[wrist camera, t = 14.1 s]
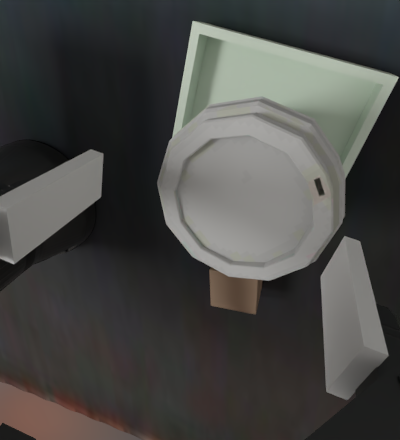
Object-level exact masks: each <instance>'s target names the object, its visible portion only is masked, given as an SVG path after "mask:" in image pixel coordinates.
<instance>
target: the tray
mask: <svg viewBox="0 0 400 440" xmlns="http://www.w3.org/2000/svg"><path fill="white" fill-rule="evenodd" d="M398 78H399V77H398V76H396V75H393V74H391V73H388V72H385V71H381V70H377V69H374V68H370V67H366V66H363V65H359V64H355V63H351V62H348V61H344V60H340V59H337V58H333V57H329V56H326V55H322V54H318V53H315V52H311V51H307V50H304V49H300V48H296V47H293V46H289V45H285V44H282V43H278V42H274V41H271V40H267V39H263V38H260V37H256V36H252V35H248V34H245V33H241V32H237V31H234V30H230V29H226V28H223V27H219V26H215V25H212V24H208V23H204V22H197V21H193V22H192V28H191V34H190V39H189V45H188V51H187V56H186V62H185V68H184V74H183V79H182V85H181V91H180V96H179V102H178V108H177V114H176V119H175V125H174V131H173V136H174V135H175V134H176V133H178V132H179V131H180V130H181V129H182V128H183V127H184V126H186V125H187V124H188V123H189V122H190V121H191V120H192V119H193V118H195V117H196V116H197V115H198V114H199V113H200V112H201V111H203V110H204V109H205V108H206V107H207V106H208V105H209V104H216V103H222V102H228V101H235V100H241V99H248V98H254V97H261V96H263V97H265V98H267V99H270V100H272V101H274V102H277V103H279V104H281V105H284V106H286V107H288V108H290V109H293V110H295V111H297V112H300V113H302V114H304V115H307V116H309V117H311V118H313V119H315V120H316V122H317V123H318V125H319V126H320V128H321V129H322V131H323V132H324V134H325V135H326V137H327V138H328V140H329V141H330V143H331V144H332V146H333V147H334V149H335V150H336V152H337V153H338V155H339V156H340V160H341V163H342V167H343V170H344V173H345V179H346V177H347V175H348V173H349V171H350V169H351V167H352V165H353V164H354V162H355V160H356V158H357V156H358V154H359V152H360V150H361V148H362V146H363V145H364V143H365V141H366V139H367V137H368V135H369V133H370V131H371V129H372V127H373V126H374V124H375V122H376V120H377V118H378V116H379V114H380V112H381V110H382V108H383V107H384V105H385V103H386V101H387V99H388V97H389V95H390V93H391V91H392V89H393V88H394V86H395V84H396V82H397V80H398ZM173 136H172V138H173Z"/></svg>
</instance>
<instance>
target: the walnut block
mask: <svg viewBox="0 0 400 440" xmlns="http://www.w3.org/2000/svg"><path fill="white" fill-rule="evenodd" d="M209 271H210V297H211V306H215V307H220V308H225V309H230V310H236V311H241V312H246V313H251V314H256V311H257V306H258V302H259V297H260V293H261V288H262V282H263V280H257V279H247V278H237V277H228V276H227V275H225V274H223V273H221V272H219V271H218V270H216V269H214V268H212V267H211V268H210V270H209Z"/></svg>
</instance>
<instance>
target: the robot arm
mask: <svg viewBox="0 0 400 440" xmlns="http://www.w3.org/2000/svg"><path fill="white" fill-rule="evenodd" d="M102 171H103V153H100V152H97V151H94V150H91V149H90V150H89V151H87V152H85V153H83V154H81V155H79V156H77V157H75V158H73V159H71V160H68V159H67V158H66V157H65V156H64V155H62V154H61V153H60V152H58V151H57V150H55V149H53V148H52V147H50V146H48V145H46V144H43V143H40V142H37V141H32V140H19V141H15V142H13V143H10V144H7V145H4V146H1V147H0V291H1V290H2V289H4V288H5V287H6V286H7V285H8V284H10V283H11V282H12V281H13V280H15V279H16V278H17V277H18V276H19V275H20V274H22V273H23V272H24V271H25V270H27V269H28V268H29V267H31V266H32V265H33V264H36V263H39V262H41V261H44V260H46V259H48V258H50V257H52V256H54V255H57V254H63V253H66V252H69V251H71V250H73V249H74V248H76V247H77V246H78V245H80V244H81V243H82V242H83V241H84V240H85V239H86V238H87V237H88V236H89V235H90V234H91V232H92V230H93V228H94V225H95V219H96V210H95V204H94V202H95V201H97V200H98V199H99V198H101V189H102ZM321 293H322V314H323V334H324V354H325V375H326V392H328V393H331V394H333V395H336V396H338V397H341V398H343V399H346V400H348V399H349V398H350V397H351V396H352V395H353V394H354V393H355V392H356V398H354V399H353V400H352V401H351V402H350V403H348V404H347V405H346V406H345V407H344V408H342V409H341V410H340V411H339V412H338V413H336V414H335V415H334V416H333V417H332V418H330V419H329V420H328V421H327V422H326V423H324V424H323V425H322V426H321V427H320V428H318V429H317V430H316V431H315V432H314V433H312V434H311V435H310V436H309V437H308V438H306V439H305V440H400V332H399V327H398V324H397V320H396V318H395V317H394V316H393V314H392V313H391V311H390V310H389V309H388V308H387V307H384V306H381V305H378V304H376V303H375V299H374V295H373V291H372V287H371V283H370V279H369V275H368V271H367V267H366V263H365V259H364V255H363V251H362V247H361V243H360V241H357V240H355V239H352V238H349V237H346V236H344V238H343V239H342V241H341V243H340V244H339V246H338V248H337V250H336V251H335V253H334V255H333V256H332V258H331V260H330V261H329V263H328V265H327V267H326V268H325V270H324V272H323V273H322V275H321ZM0 440H36V439H35V438H33V437H31V436H29V435H27V434H25V433H23V432H21V431H19V430H16V429H14V428H12V427H10V426H8V425H6V424H4V423H2V425H1V426H0Z"/></svg>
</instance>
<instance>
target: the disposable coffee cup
mask: <svg viewBox="0 0 400 440" xmlns="http://www.w3.org/2000/svg"><path fill="white" fill-rule="evenodd" d="M157 186H158V190H159V195H160V199H161V203H162V208H163V212H164V217H165V221H166V224H167V226H168V227H169V228H170V230H171V231H172V232H173V233H174V235H175V236H176V237H177V238H178V240H179V241H180V242H181V243H182V245H183V246H184V247H185V248H186V250H187V251H188V252H189V253H190V255H191V256H192V257H193V258H195V259H197V260H199V261H201V262H203V263H205V264H207V265H208V266H210V267H212V268H214V269H216V270H218V271H219V272H221V273H223V274H225V275H227V276H228V277H237V278H247V279H257V280H267V281H270V280H273V279H276V278H278V277H281V276H283V275H286V274H289V273H291V272H294V271H297V270H299V269H302V268H304V267H307V266H308V265H309V264H310V263H313V262H315V261H316V260H317V258H318V257H319V255H320V254H321V253H322V251H323V250H324V248H325V247H326V246H327V244H328V243H329V241H330V240H331V238H332V237H333V236H334V234H335V233H336V231H337V230H338V228H339V227H340V226H341V224H342V223H343V218H344V217H345V173H344V170H343V167H342V163H341V160H340V156H339V155H338V153H337V152H336V150H335V149H334V147H333V146H332V144H331V143H330V141H329V140H328V138H327V137H326V135H325V134H324V132H323V131H322V129H321V128H320V126H319V125H318V123H317V122H316V120H315V119H313V118H311V117H309V116H307V115H304V114H302V113H300V112H297V111H295V110H293V109H290V108H288V107H286V106H284V105H281V104H279V103H277V102H274V101H272V100H270V99H267V98H265V97H263V96H261V97H254V98H248V99H241V100H235V101H228V102H222V103H216V104H209V105H208V106H207V107H206V108H205V109H204V110H203V111H201V112H200V113H199V114H198V115H197V116H196V117H195V118H193V119H192V120H191V121H190V122H189V123H188V124H187V125H186V126H184V127H183V128H182V129H181V130H180V131H179V132H178V133H176V134H175V135H174V136H173V138H172V139H171V140H170V141H169V144H168V147H167V150H166V154H165V157H164V160H163V164H162V167H161V171H160V174H159V177H158V181H157Z"/></svg>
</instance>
